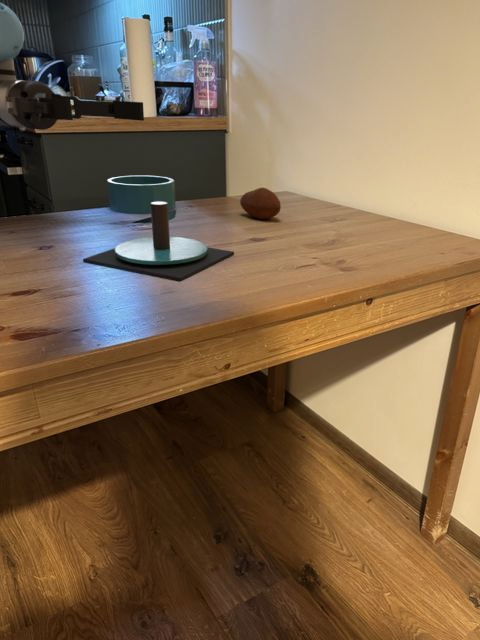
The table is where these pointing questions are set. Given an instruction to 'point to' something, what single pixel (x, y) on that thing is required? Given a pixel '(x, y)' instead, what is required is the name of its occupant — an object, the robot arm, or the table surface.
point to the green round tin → (141, 194)
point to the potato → (260, 203)
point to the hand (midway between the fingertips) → (108, 110)
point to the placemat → (164, 271)
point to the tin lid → (160, 243)
